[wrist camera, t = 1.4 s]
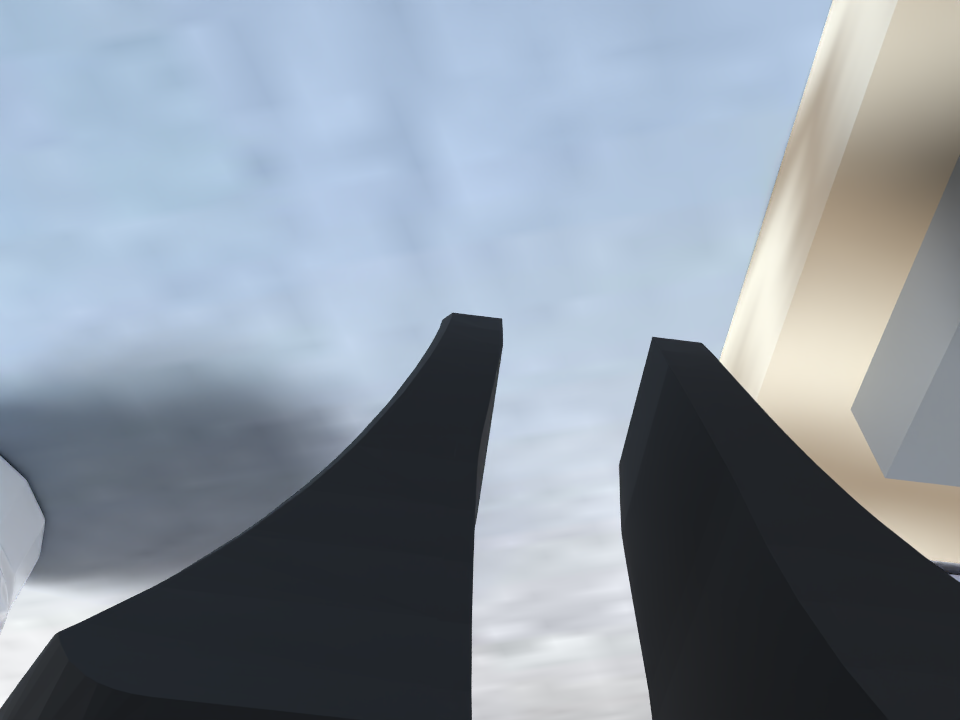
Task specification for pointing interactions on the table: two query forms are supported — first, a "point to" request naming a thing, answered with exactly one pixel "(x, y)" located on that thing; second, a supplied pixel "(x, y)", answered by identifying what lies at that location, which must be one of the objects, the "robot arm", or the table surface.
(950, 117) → the board
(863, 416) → the tile
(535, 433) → the table surface
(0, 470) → the white cup
